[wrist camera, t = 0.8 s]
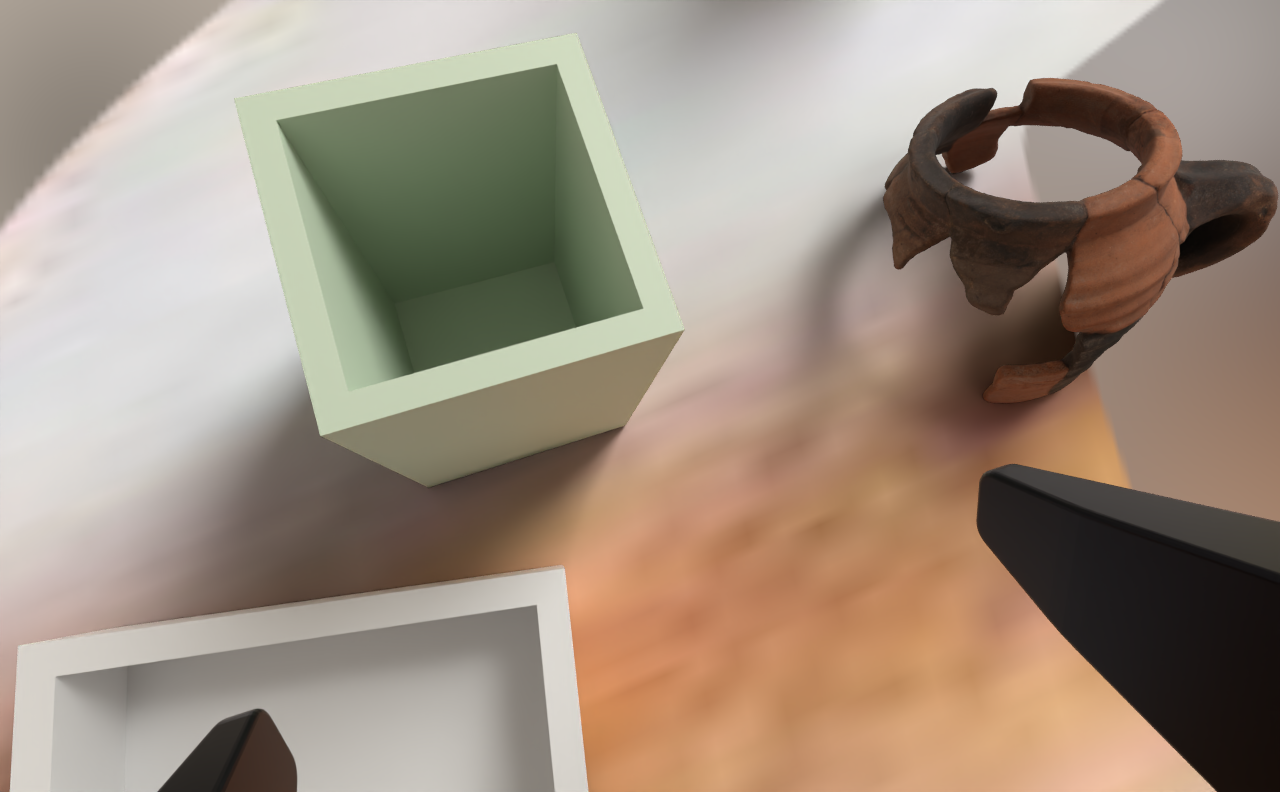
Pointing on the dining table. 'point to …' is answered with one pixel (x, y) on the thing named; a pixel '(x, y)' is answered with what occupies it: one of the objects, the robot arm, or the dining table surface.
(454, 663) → the grey crate
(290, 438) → the dining table surface
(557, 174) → the green crate
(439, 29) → the dining table surface
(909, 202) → the pottery mug
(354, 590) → the dining table surface
